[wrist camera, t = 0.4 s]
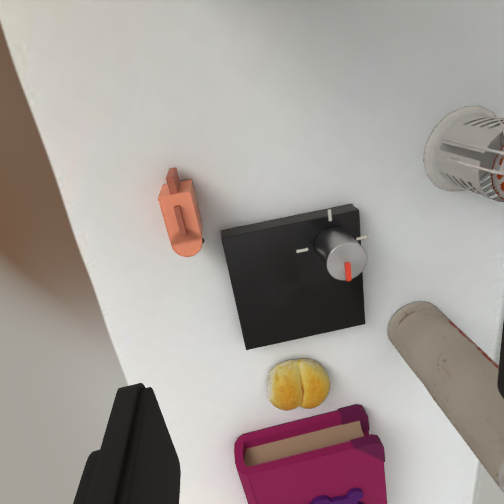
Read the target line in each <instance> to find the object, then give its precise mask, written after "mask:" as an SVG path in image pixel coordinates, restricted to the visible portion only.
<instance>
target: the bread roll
mask: <svg viewBox="0 0 504 504" xmlns="http://www.w3.org/2000/svg"><path fill="white" fill-rule="evenodd" d="M267 383H268V384H267V394H268V400H269V401H271V403H272V404H273V405H274V406H275V407H277V408H279V409H281V410H292V409H295V408H296V407H298V406H301V407H303V408H306V409H311V408H315V407H317V406H319V405H320V404H321V403H322V402H323V401H324V400H325V398H326V397H327V395H328V393H329V389H330V379H329V377H328V375H327V373H326V371H325V369H324V368H323V367H322V366H321V365H320V364H319V363H318V362H316V361H314V360H311V359H298V360H287V361H284V362H281V363H279V364H278V365H276V366H275V367H274V368H273V369H272V370H271V371H270V373H269V377H268V381H267Z"/></svg>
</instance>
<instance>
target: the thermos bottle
mask: <svg viewBox="0 0 504 504" xmlns="http://www.w3.org/2000/svg"><path fill="white" fill-rule="evenodd" d="M387 331H388V337H389V339H390V341H391V342H392V344H393V345H394V346H395V348H396V349H397V350H398V352H399V353H400V355H401V356H402V357H403V359H404V360H405V361H406V363H407V364H408V365H409V367H410V368H411V369H412V371H413V372H414V373H415V374H416V375H417V377H418V378H419V379H420V380H421V381H422V383H423V384H424V386H425V387H426V389H427V390H428V392H429V393H430V395H431V396H432V397H433V399H434V400H435V402H436V403H437V404H438V406H439V407H440V408H441V410H442V411H443V412H444V414H445V415H446V416H447V418H448V419H449V420H450V422H451V423H452V424H453V426H454V427H455V428H456V430H457V431H458V433H459V434H460V435H461V437H462V438H463V439H464V441H465V442H466V443H467V445H468V446H469V447H470V449H471V450H472V451H473V453H474V454H475V455H476V457H477V458H478V459H479V461H480V462H481V463H482V465H483V466H484V467H485V469H486V470H487V472H488V473H489V474H490V476H491V477H492V478H493V480H494V481H495V482H496V484H497V485H498V486H499V487H500V489H501V490H502V491H503V492H504V399H503V397H502V396H501V394H500V393H499V390H498V387H497V381H498V371H499V365H497V364H496V363H495V362H494V361H493V360H492V359H491V358H490V357H489V356H488V355H487V354H486V353H485V352H484V351H483V350H482V349H480V348H479V347H478V346H477V345H476V344H475V343H474V342H473V341H472V340H471V339H470V338H469V337H468V336H467V335H466V334H464V333H463V332H462V331H461V330H460V329H459V328H458V327H457V326H456V325H455V324H454V323H453V322H452V321H451V320H450V319H449V318H447V317H446V316H445V315H444V314H443V313H442V312H441V311H440V310H439V309H438V308H437V307H436V306H434V305H433V304H431V303H428V302H422V301H420V302H413V303H410V304H408V305H405V306H404V307H402V308H400V309H399V310H398V311H397V312H396V313H395V314H394V315H393V316H392V318H391V320H390V322H389V324H388V330H387Z"/></svg>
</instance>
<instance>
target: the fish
mask: <svg viewBox="0 0 504 504" xmlns="http://www.w3.org/2000/svg"><path fill="white" fill-rule="evenodd" d="M166 180H167V184H164V185H163V186H162V189H161V192H160V194H159V197H158V200H159V204H160V207H161V211H162V214H163V218H164V221H165V225H166V228H167V232H168V235H169V239H170V242H171V246H172V248H173V250H174V251H175V252H176V253H177V254H178V255H180V256H184V257H190V256H193V255H195V254H197V253H198V252H199V251H200V249H201V247H202V244H203V243H204V238H202V221H201V217H200V213H199V209H198V205H197V200H196V196H195V192H194V188H193V184H192V180H191V179H190V180H185V181H180V180H179V176H178V172H177V168H171V169H169V171H168V174H167V177H166Z"/></svg>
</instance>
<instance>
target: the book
mask: <svg viewBox="0 0 504 504" xmlns="http://www.w3.org/2000/svg"><path fill="white" fill-rule="evenodd" d="M368 431H369V422H368V415H367V414H366V412H365V410H364V408H363V406H362V405H357V404H356V405H352V406H348V407H344V408H340V409H338V411H334V412H330V413H326V414H322V415H318V416H314V417H310V418H306V419H302V420H298V421H294V422H290V423H286V424H282V425H278V426H274V427H270V428H266V429H262V430H258V431H254V432H250V433H246V434H243V435H242V436H240V437H239V438H238V439H237V441H236V442H235V448H234V454H235V464H236V467H237V471H238V474H239V477H240V480H241V483H242V486H243V489H244V492H245V495H246V498H247V501H248V504H387V497H386V484H385V472H384V462H385V454H384V447H383V445H382V443H381V441H380V439H379V437H378V436H377V435H372V434H371V435H369V432H368Z"/></svg>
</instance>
